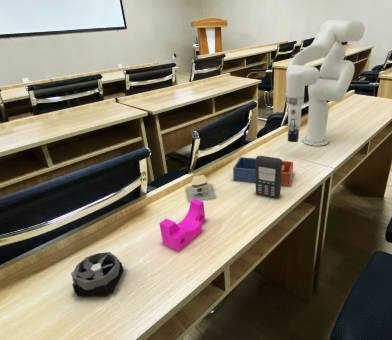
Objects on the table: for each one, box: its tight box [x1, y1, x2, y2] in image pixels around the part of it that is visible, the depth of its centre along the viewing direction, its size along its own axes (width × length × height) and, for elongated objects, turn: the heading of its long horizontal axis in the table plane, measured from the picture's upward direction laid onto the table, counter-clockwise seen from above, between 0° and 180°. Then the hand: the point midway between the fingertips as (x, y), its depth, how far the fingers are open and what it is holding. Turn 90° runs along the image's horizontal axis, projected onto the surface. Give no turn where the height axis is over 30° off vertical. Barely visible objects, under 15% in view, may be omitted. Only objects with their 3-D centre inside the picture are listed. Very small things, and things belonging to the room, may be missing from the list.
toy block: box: [158, 199, 206, 252], centre depth 93 cm, size 15×6×8 cm, turn 147°
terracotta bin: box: [281, 160, 294, 187], centre depth 123 cm, size 11×11×6 cm
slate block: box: [287, 128, 300, 143], centre depth 138 cm, size 4×4×4 cm
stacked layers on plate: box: [186, 174, 215, 203], centre depth 115 cm, size 10×9×6 cm
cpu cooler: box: [70, 251, 124, 298], centre depth 77 cm, size 10×6×10 cm
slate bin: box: [232, 156, 256, 184], centre depth 126 cm, size 11×11×6 cm
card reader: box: [254, 155, 283, 199], centre depth 110 cm, size 9×4×15 cm, turn 68°
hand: (293, 139), depth 139 cm, fingers closed on slate block, 4 cm apart
